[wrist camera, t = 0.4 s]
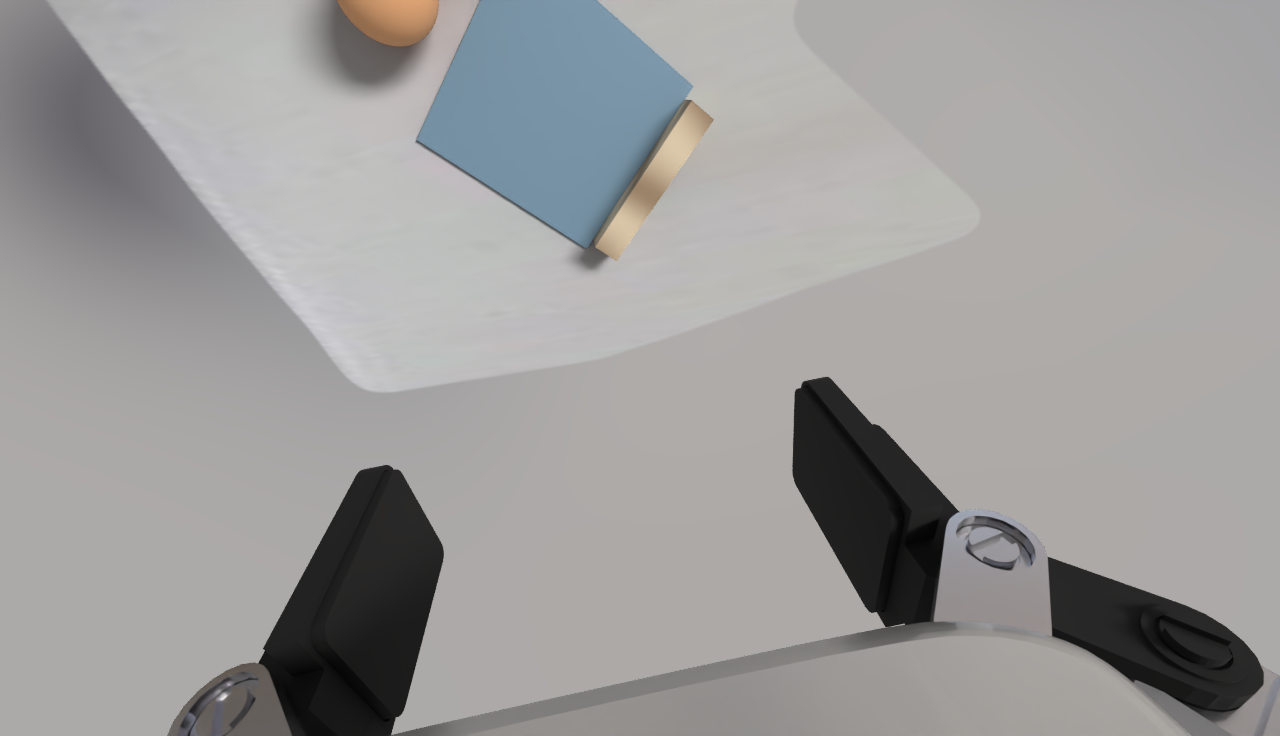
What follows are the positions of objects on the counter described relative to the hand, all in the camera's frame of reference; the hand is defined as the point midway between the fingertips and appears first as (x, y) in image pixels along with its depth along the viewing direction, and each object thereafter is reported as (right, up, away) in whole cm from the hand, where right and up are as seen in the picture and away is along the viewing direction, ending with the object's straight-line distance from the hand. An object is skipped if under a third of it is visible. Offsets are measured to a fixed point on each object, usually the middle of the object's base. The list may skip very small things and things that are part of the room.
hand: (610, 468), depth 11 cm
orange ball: (-14, +24, +16) cm, 32 cm away
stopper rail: (+1, +17, +25) cm, 31 cm away
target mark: (-5, +20, +22) cm, 31 cm away
